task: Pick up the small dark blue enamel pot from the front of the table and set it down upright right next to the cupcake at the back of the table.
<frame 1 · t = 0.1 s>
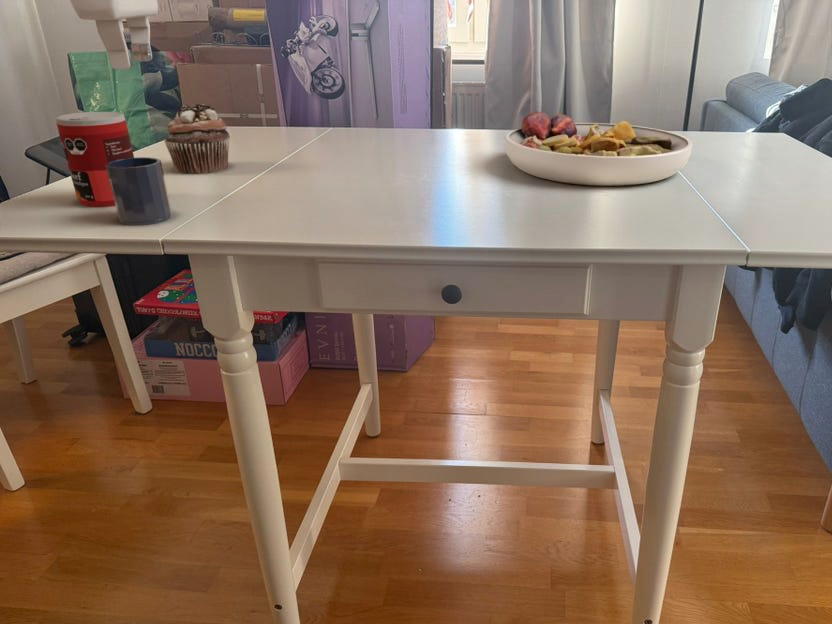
hand: (133, 64, 74), 18 cm above the table, tool pointing down, fingers open, 8 cm apart
canned food: (111, 201, 92), on the table
bowl: (594, 170, 112), on the table
pot: (146, 219, 84), on the table
cupcake: (202, 170, 109), on the table
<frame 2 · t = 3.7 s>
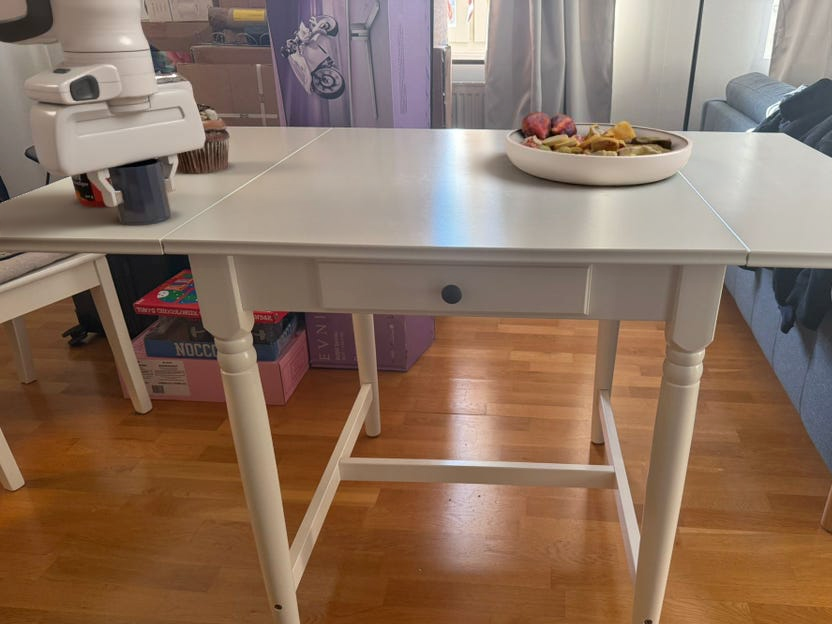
hand: (141, 198, 83), 3 cm above the table, tool pointing down, fingers closed on pot, 6 cm apart
pot: (146, 219, 84), on the table, touching gripper
everything else where it was.
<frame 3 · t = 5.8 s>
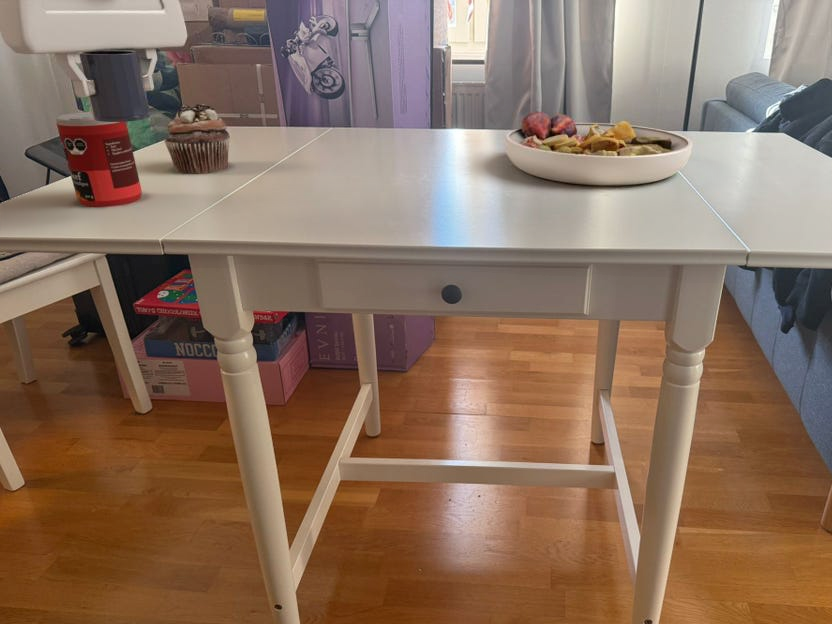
hand: (116, 93, 78), 15 cm above the table, tool pointing down, fingers closed on pot, 6 cm apart
pot: (122, 117, 79), point 12 cm above the table, touching gripper
everything else where it was.
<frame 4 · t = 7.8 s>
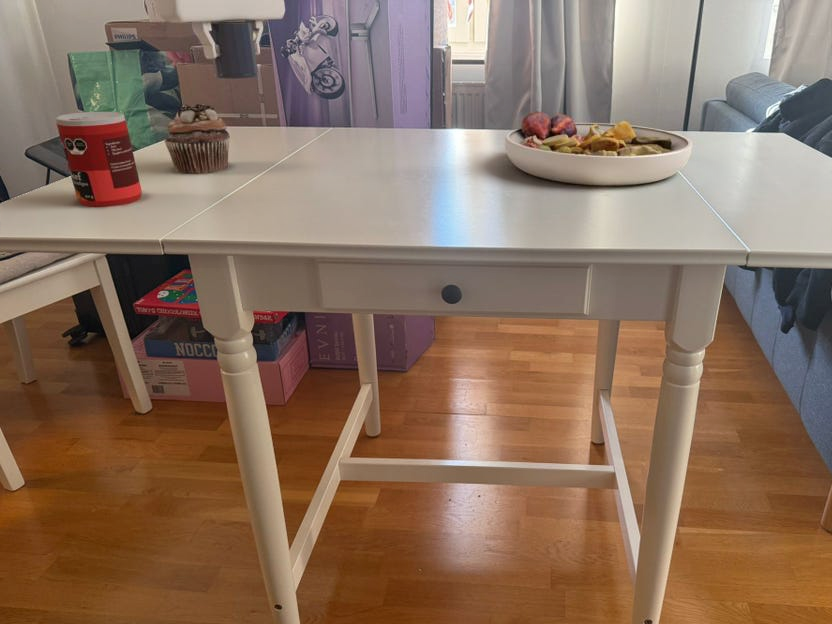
hand: (233, 56, 97), 17 cm above the table, tool pointing down, fingers closed on pot, 6 cm apart
pot: (237, 76, 98), point 14 cm above the table, touching gripper
everything else where it was.
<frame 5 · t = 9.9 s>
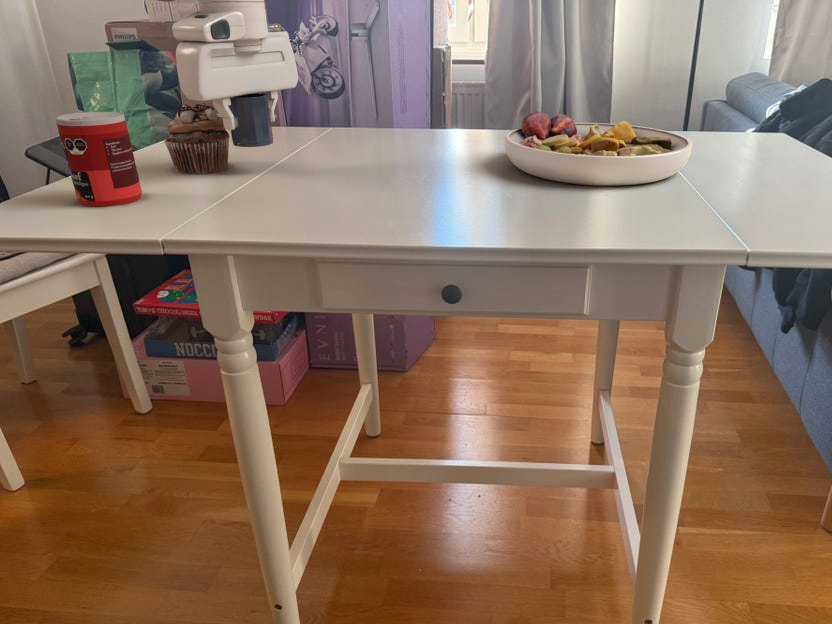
hand: (250, 125, 103), 7 cm above the table, tool pointing down, fingers closed on pot, 6 cm apart
pot: (253, 143, 104), point 5 cm above the table, touching gripper
everything else where it was.
when the fingers open (3 cm above the table, at t = 11.7 s): pot stays where it is, on the table.
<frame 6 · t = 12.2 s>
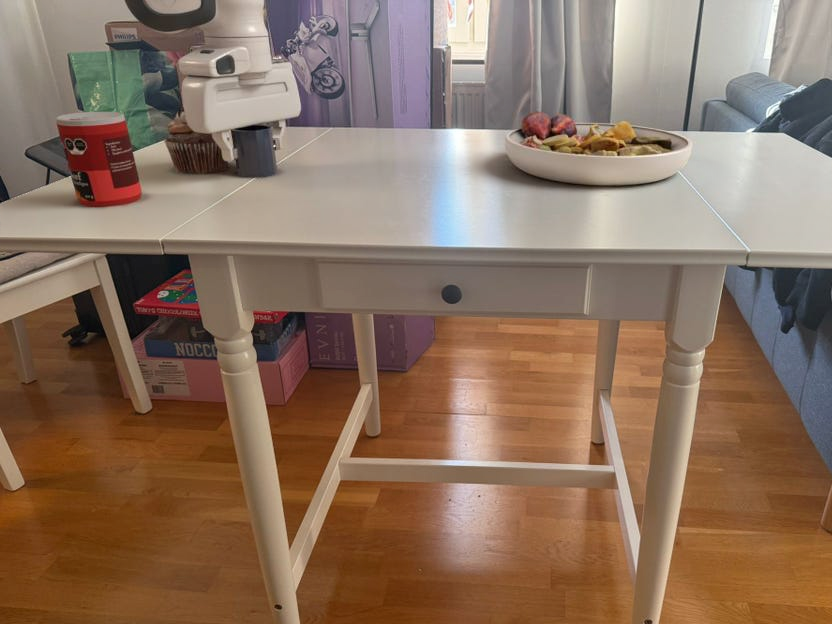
hand: (254, 155, 105), 3 cm above the table, tool pointing down, fingers open, 8 cm apart
pot: (257, 173, 106), on the table
everything else where it was.
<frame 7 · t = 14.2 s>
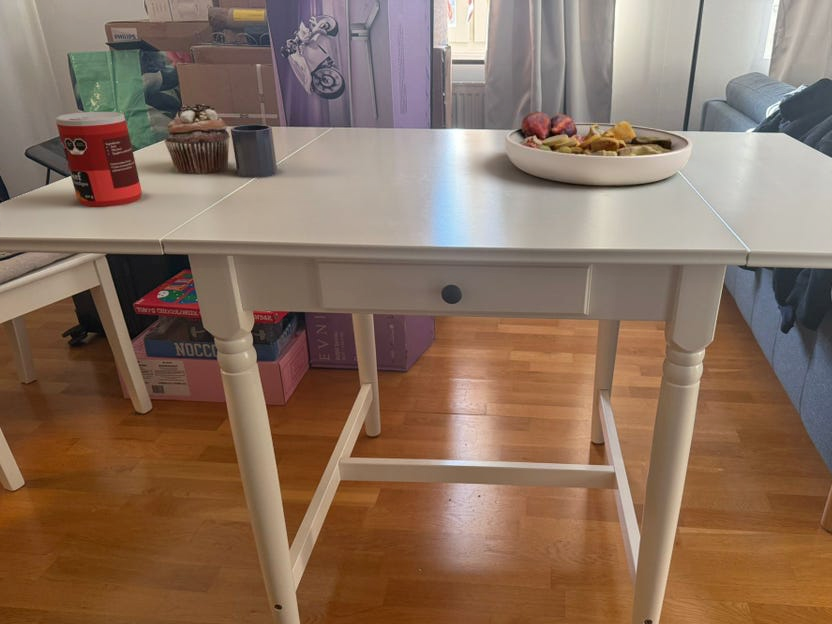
nothing on the table moved.
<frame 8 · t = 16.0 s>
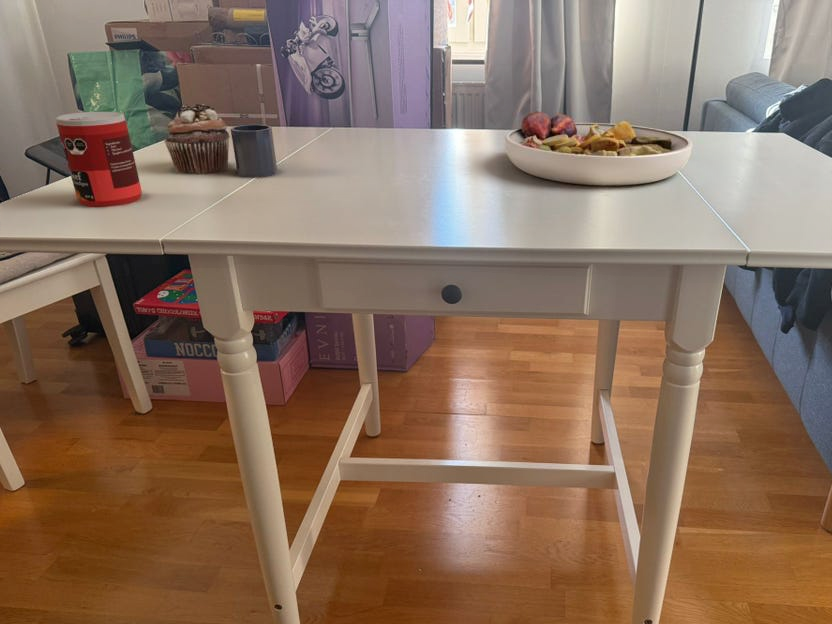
nothing on the table moved.
at the end: pot 10.3 cm from the cupcake (horizontally); pot tilted 0°; the gripper is holding nothing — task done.
